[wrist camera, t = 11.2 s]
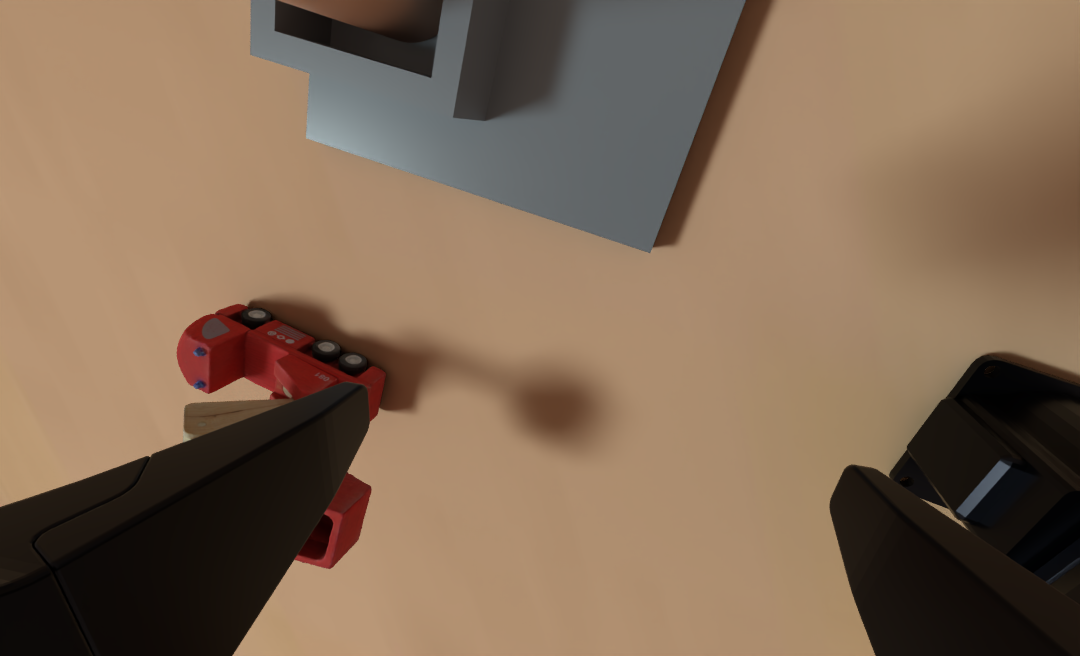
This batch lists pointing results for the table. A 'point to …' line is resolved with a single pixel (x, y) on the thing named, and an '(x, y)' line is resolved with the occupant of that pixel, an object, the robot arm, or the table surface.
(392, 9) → the peg
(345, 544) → the toy fire truck
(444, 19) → the jig cradle
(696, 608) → the table surface
